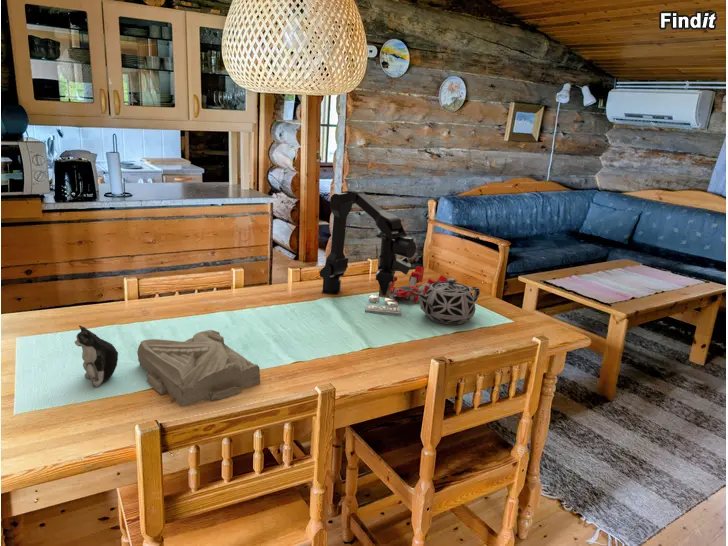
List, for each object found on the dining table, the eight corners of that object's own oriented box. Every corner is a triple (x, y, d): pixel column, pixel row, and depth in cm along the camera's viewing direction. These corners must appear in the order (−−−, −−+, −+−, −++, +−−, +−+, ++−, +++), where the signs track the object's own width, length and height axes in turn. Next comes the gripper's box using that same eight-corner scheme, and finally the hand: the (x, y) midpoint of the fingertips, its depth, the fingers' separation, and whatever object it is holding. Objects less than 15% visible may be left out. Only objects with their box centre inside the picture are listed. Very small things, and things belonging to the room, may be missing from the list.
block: (378, 296, 202) (379, 283, 201) (379, 293, 206) (380, 280, 205) (389, 297, 202) (390, 284, 201) (390, 294, 206) (391, 281, 205)
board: (365, 311, 203) (365, 309, 203) (366, 306, 209) (367, 303, 209) (400, 315, 202) (400, 312, 202) (401, 309, 208) (401, 307, 208)
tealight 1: (368, 302, 214) (368, 296, 213) (369, 299, 218) (369, 293, 217) (378, 303, 214) (379, 297, 213) (379, 300, 218) (380, 294, 217)
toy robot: (454, 273, 231) (413, 283, 208) (451, 295, 234) (410, 307, 211) (418, 264, 242) (376, 272, 219) (416, 285, 244) (373, 295, 221)
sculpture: (177, 414, 130) (176, 381, 128) (128, 364, 152) (127, 335, 150) (271, 385, 146) (271, 355, 144) (215, 344, 169) (214, 317, 166)
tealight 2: (383, 304, 213) (384, 298, 212) (385, 301, 217) (386, 295, 216) (393, 306, 212) (394, 299, 211) (395, 303, 216) (396, 296, 215)
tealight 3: (386, 308, 209) (387, 302, 208) (387, 305, 213) (388, 298, 212) (397, 309, 209) (398, 303, 208) (398, 306, 212) (398, 299, 212)
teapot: (395, 316, 202) (398, 276, 197) (458, 305, 218) (463, 268, 214) (428, 334, 186) (433, 292, 182) (494, 321, 203) (499, 282, 199)
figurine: (70, 377, 143) (65, 322, 138) (109, 367, 149) (106, 314, 145) (83, 391, 136) (79, 334, 132) (124, 380, 143) (121, 325, 139)
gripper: (409, 260, 190) (405, 303, 194) (411, 247, 208) (407, 287, 212) (377, 257, 191) (373, 300, 195) (381, 245, 209) (378, 284, 213)
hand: (384, 293), depth 204 cm, fingers closed on block, 4 cm apart
